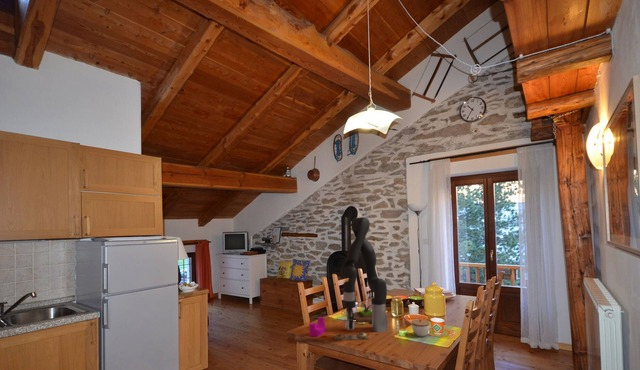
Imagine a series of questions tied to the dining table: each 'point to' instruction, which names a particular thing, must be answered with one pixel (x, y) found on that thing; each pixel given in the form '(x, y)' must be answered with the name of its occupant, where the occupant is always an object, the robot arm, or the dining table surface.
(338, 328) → the dining table surface
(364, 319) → the plant
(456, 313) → the dining table surface
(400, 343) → the dining table surface
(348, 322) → the idler gear
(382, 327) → the robot arm
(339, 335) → the gear board
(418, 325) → the lidded jar
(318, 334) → the toy block
